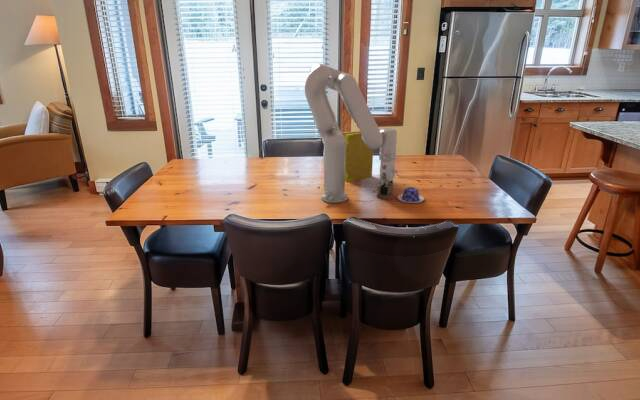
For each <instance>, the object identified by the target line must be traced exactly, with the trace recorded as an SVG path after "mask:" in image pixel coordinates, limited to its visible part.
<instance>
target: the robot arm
mask: <svg viewBox="0 0 640 400" xmlns="http://www.w3.org/2000/svg"><path fill="white" fill-rule="evenodd" d="M326 88H327V89H330V90H333V91H335V92H338V93H339V96H340V98H341V100H342V102H343V104H344V106H345V109H346V110H347V112H348V114H349V116H350V118H351V119H352V120H353V122H354V123H355V124H356V126H357V128H358V129H359V131H361V133H362V140H363V142H364V143H365V144H366V145H367V146H368V147H369V148H370V149H373V150H379V153H378V154H379V155H378V157H379V158H378V159H379V160H380V168H379V170H380V171H379V181H380V182H381V183H380V182H379V183H380V184H381V185H380V194H381V195H387V183H393V184H394V178H395V176H396V162H395V161H396V160H397V142H398V141H397V139H398V138H397V136H398V133H397V130H396V129H395V128H392V127H391V128H390V127H389V128H379V126H378V124H377V122H376V121H375V118H374V116H373V113H372V112H371V110H370V108H369V106H368V104H367V102H366V99H365V98H364V95H363V93H362V91H361V89H360V86H359V84H358V82H357V80H356V78H355V77H354V76H353V75H352V74H350V73H347V72H344V71H341V70H338V69H336V68H333V67H331V66H328V65H327V64H323V63H316V64H314V65H313V66H312V67H311V68H310V70H309V75H308V77H307V78H306V81H305V85H304V94H305V98H306V100H307V101H306V102H307V104H308V106H309V109H310V112H311V114H312V118H313V122H314V123H315V126H316V128H317V132H318V134H319V137H320V138H321V141H322V143H323V146H324V149H323V150H324V151H323V152H324V154H323V156H324V157H323V179H324V180H323V181H324V182H323V183H324V186H323V187H324V189H323V190H324V192H323V193H322V194H321V196H320V198H321V200H322V201H323V202H325V203H332V204H338V203H344V202H346V201H348V199H349V196H348V194H347V193H346V191H345V189H346V188H345V186H346V183H345V182H346V181H345V153H346V140H345V137H344V136H343V134H342V133H341V132H342V131H341V129H340V127H339V124H338V122H337V119H336V113H335V112H334V110H333V108H332V106H331V104H330V101H329V99H328V95H327V93H326ZM384 182H386V184H385V183H384Z"/></svg>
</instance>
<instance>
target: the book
mask: <svg viewBox="0 0 640 400" xmlns="http://www.w3.org/2000/svg"><path fill="white" fill-rule="evenodd" d="M341 133H342V134H343V136H344V137H345V140H346V153H345V182H353V181H357V180H365V179H370V178H372V177H373V160H374V159H373V157H374V149H370V148H369V147H368V146H367V145H366V144H365V143H364V142H363V140H362V133H361V131H360V130H357V131H355V130H354V131H344V132H342V131H341Z"/></svg>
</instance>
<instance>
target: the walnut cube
mask: <svg viewBox="0 0 640 400" xmlns="http://www.w3.org/2000/svg"><path fill="white" fill-rule="evenodd" d="M380 183H381V181H380V182H379V183H378V184H377V185H376V186H377V188H376V189H377V190H376V197H377V198H379V199H385V200H390V199H391V197H392V196H393V192H394V182H393V183H387V195H381V194H380V185H381V184H380ZM384 183H385V184H386V182H384Z"/></svg>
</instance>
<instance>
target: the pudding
mask: <svg viewBox="0 0 640 400" xmlns="http://www.w3.org/2000/svg"><path fill="white" fill-rule="evenodd" d="M397 199H398V200H399V201H401V202H403V203H410V204H414V203H415V204H416V203H417V204H418V203H422V202H423V201H425V198H424V197H423V196H422V195H419V189H418V188H417V187H413V186H412V187H411V186H410V187H408V186H407V187H405V188H404V190H403V192H402V193H401V194H399V195H398V196H397Z"/></svg>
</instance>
